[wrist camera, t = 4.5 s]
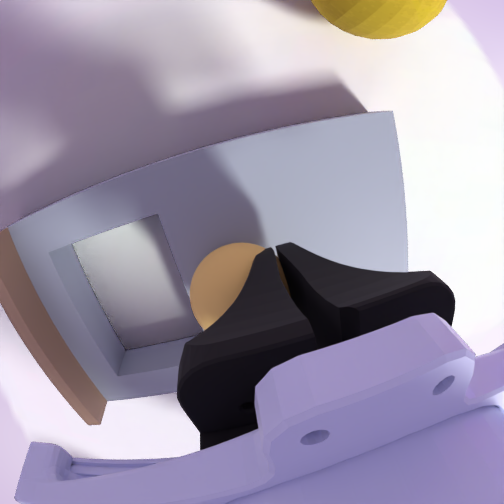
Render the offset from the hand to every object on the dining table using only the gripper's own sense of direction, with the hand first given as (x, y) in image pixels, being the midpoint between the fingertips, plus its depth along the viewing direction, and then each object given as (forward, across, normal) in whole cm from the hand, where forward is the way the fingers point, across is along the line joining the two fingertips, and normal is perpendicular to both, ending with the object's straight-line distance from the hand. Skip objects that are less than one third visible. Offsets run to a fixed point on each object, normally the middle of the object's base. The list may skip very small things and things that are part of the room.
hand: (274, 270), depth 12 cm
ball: (-2, 0, +1) cm, 2 cm away
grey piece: (+4, +3, +1) cm, 5 cm away
